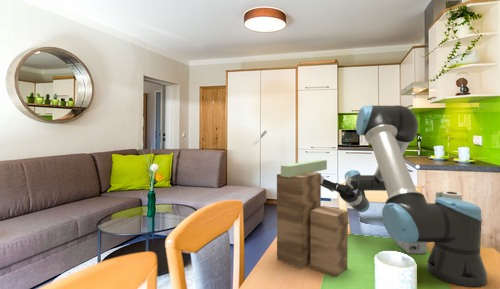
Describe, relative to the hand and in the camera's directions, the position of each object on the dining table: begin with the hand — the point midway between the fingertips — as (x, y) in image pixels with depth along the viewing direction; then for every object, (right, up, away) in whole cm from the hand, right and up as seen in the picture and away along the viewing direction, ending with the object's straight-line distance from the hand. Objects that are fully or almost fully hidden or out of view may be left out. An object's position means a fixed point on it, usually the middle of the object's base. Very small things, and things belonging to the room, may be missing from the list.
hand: (330, 176), depth 116 cm
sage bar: (-13, +3, -13) cm, 19 cm away
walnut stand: (-11, -27, -18) cm, 35 cm away
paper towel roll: (+43, -27, -7) cm, 51 cm away
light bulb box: (+28, -27, -6) cm, 39 cm away
